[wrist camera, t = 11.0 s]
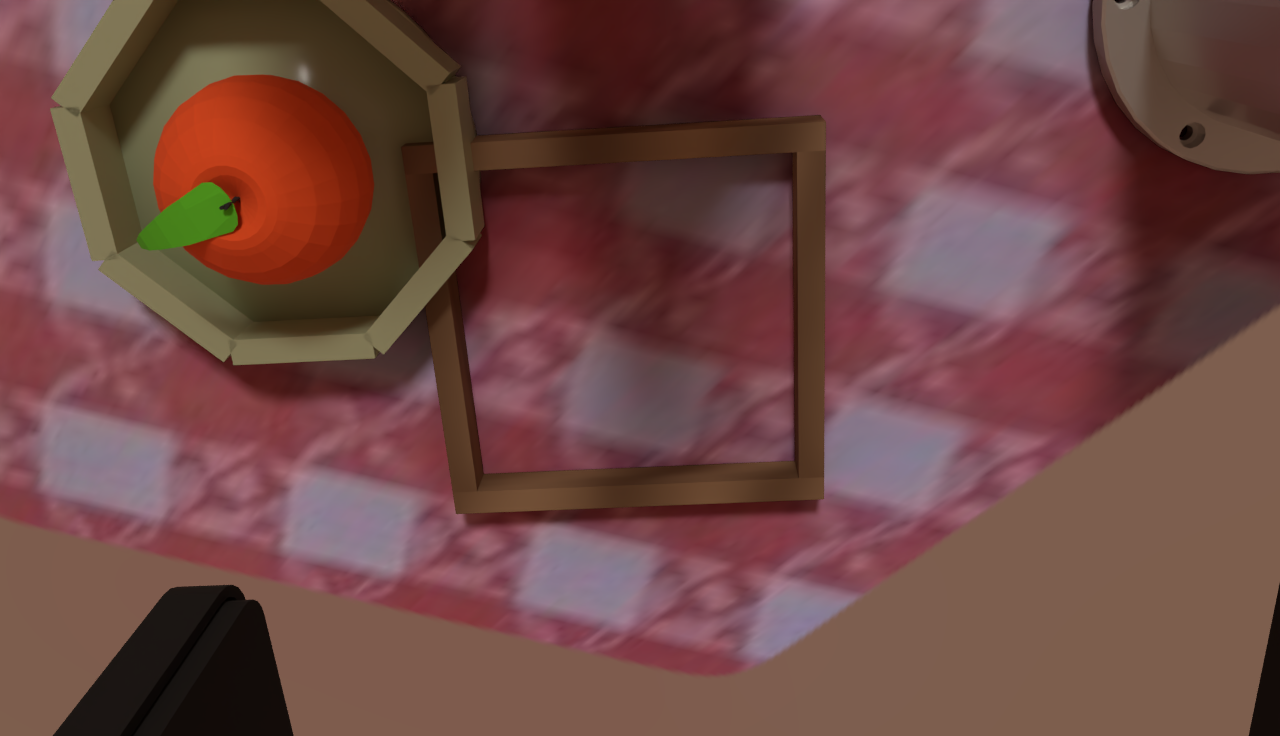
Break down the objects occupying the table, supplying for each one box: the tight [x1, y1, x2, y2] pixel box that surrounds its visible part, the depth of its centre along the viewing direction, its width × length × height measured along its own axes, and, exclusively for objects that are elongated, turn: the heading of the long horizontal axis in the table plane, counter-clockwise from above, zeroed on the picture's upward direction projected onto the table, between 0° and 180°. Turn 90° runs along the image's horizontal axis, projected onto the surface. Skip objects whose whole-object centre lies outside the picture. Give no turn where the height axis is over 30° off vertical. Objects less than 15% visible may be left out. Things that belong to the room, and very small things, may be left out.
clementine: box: [136, 75, 374, 285], centre depth 34 cm, size 8×7×7 cm
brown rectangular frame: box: [401, 115, 826, 514], centre depth 40 cm, size 15×15×2 cm
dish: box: [50, 0, 485, 365], centre depth 37 cm, size 14×14×3 cm
